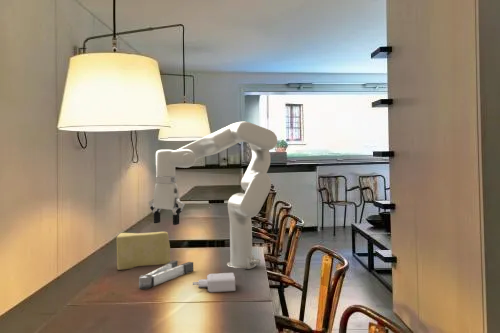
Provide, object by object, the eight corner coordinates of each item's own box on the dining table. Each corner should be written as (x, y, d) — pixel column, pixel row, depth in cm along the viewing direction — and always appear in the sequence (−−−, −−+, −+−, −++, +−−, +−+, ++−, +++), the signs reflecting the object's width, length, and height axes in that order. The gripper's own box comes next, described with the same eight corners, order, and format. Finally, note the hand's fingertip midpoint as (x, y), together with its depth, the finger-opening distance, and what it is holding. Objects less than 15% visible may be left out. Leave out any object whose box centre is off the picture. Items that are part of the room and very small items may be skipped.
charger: (192, 286, 155) (233, 284, 157) (192, 294, 146) (235, 292, 148) (192, 273, 155) (233, 271, 157) (192, 281, 146) (235, 278, 148)
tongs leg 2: (155, 286, 152) (155, 276, 152) (150, 285, 153) (150, 275, 153) (193, 271, 171) (193, 262, 171) (189, 270, 172) (189, 261, 172)
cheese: (171, 262, 190) (170, 229, 190) (169, 268, 181) (168, 233, 180) (121, 265, 188) (120, 231, 188) (116, 270, 178) (115, 235, 178)
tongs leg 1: (148, 285, 153) (148, 275, 153) (143, 284, 154) (143, 274, 154) (177, 269, 175) (177, 260, 175) (172, 268, 175) (172, 260, 175)
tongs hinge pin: (154, 286, 152) (154, 275, 152) (146, 290, 148) (146, 278, 148) (144, 285, 154) (144, 274, 154) (136, 288, 150) (136, 277, 150)
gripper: (189, 180, 166) (189, 223, 166) (155, 179, 174) (156, 221, 175) (177, 181, 159) (177, 226, 160) (142, 180, 168) (143, 223, 168)
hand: (166, 223), depth 167 cm, fingers open, 9 cm apart
